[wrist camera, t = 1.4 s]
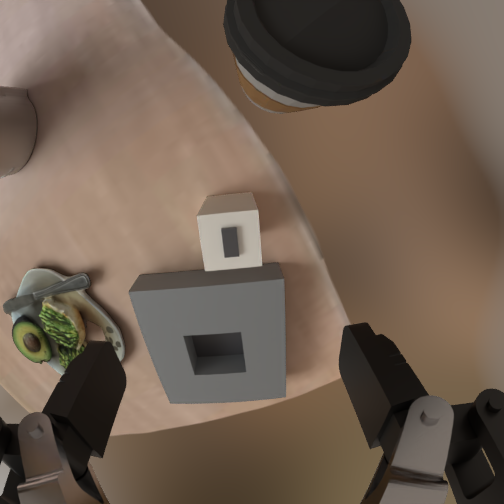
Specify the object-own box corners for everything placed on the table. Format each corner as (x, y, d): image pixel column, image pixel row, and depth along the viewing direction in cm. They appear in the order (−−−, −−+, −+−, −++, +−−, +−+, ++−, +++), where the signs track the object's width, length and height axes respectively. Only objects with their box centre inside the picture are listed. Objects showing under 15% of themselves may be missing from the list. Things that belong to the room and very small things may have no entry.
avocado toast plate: (46, 218, 24) (22, 232, 20) (159, 326, 30) (150, 353, 26) (5, 311, 28) (-11, 327, 24) (90, 388, 34) (81, 409, 30)
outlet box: (139, 275, 27) (128, 291, 24) (278, 262, 27) (284, 278, 24) (174, 383, 33) (170, 403, 30) (282, 376, 33) (285, 396, 30)
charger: (206, 196, 25) (196, 217, 18) (251, 191, 25) (258, 210, 18) (212, 238, 26) (204, 273, 19) (255, 234, 26) (262, 267, 19)
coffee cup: (340, 83, 21) (446, 37, 7) (281, 144, 23) (346, 144, 9) (272, 25, 19) (311, -77, 5) (208, 84, 21) (174, 8, 7)
